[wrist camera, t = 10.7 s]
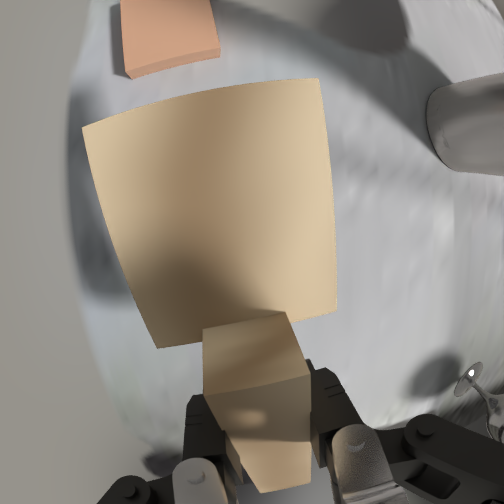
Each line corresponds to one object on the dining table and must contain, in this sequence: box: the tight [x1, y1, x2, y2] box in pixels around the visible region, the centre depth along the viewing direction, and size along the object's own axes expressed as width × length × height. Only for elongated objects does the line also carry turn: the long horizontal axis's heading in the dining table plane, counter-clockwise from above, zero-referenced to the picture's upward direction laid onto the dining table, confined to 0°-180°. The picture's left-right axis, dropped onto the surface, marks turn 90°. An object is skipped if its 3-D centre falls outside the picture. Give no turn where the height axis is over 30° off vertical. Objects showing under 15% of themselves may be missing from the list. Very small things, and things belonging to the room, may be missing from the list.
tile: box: [120, 0, 220, 79], centre depth 16 cm, size 7×2×8 cm
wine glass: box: [454, 362, 504, 443], centre depth 25 cm, size 8×8×15 cm
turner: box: [82, 78, 337, 493], centre depth 8 cm, size 6×16×4 cm, turn 10°
